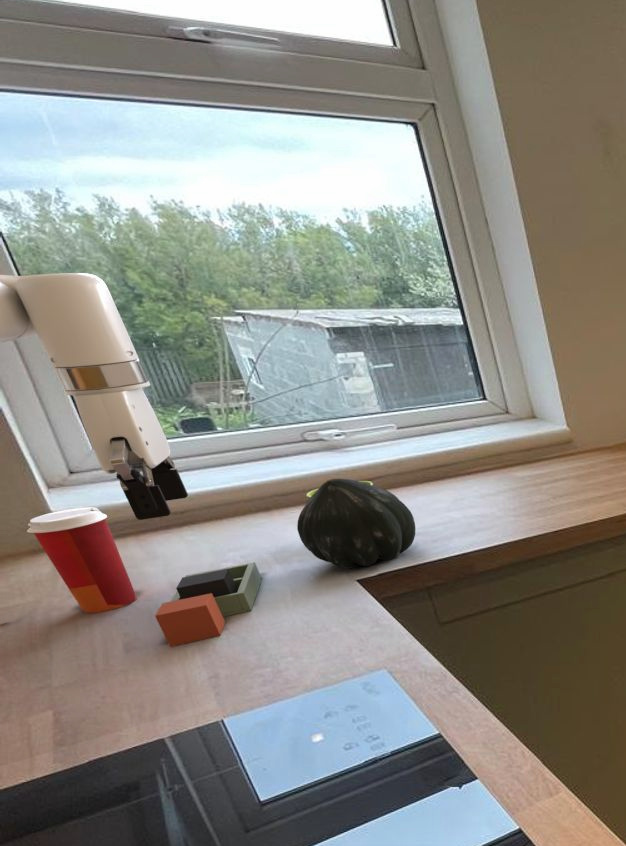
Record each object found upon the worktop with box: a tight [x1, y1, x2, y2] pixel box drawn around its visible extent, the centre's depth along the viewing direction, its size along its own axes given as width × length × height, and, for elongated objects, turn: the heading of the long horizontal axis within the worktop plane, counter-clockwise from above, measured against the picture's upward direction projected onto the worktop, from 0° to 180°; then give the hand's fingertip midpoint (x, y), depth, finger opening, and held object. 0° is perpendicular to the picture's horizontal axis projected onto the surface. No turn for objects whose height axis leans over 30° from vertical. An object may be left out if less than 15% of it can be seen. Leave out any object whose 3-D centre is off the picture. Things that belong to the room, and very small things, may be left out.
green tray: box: [170, 561, 263, 618], centre depth 118 cm, size 8×15×3 cm, turn 36°
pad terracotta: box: [154, 593, 226, 647], centre depth 107 cm, size 5×5×4 cm
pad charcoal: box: [175, 569, 238, 599], centre depth 115 cm, size 5×5×4 cm
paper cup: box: [26, 506, 137, 614], centre depth 116 cm, size 8×8×14 cm
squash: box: [296, 478, 416, 569], centre depth 130 cm, size 14×15×15 cm
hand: (164, 507), depth 108 cm, fingers open, 9 cm apart
